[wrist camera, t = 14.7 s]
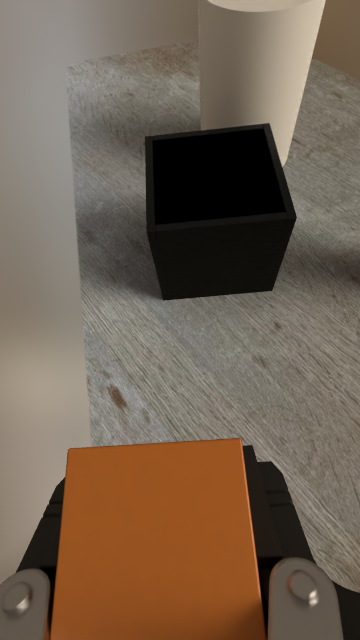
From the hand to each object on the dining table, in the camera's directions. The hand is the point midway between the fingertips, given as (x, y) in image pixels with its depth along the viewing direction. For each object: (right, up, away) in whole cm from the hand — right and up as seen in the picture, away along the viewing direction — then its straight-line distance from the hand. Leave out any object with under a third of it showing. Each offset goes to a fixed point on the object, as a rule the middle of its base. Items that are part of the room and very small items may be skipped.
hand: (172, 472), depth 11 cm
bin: (+5, +14, +33) cm, 36 cm away
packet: (0, -4, +3) cm, 5 cm away
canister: (+10, +32, +42) cm, 53 cm away
